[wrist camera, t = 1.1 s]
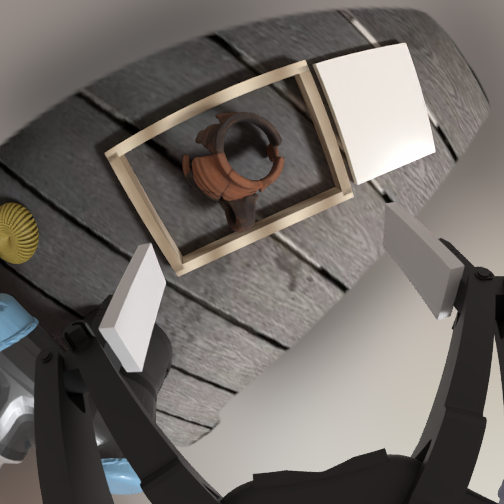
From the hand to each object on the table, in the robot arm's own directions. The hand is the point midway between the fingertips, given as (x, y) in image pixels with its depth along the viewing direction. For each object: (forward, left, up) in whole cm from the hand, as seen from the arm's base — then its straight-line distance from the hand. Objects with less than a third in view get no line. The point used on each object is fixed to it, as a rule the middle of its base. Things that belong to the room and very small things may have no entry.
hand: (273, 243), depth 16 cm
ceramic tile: (+19, +1, -18) cm, 26 cm away
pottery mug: (-1, +1, -19) cm, 19 cm away
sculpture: (-28, +8, -19) cm, 35 cm away
